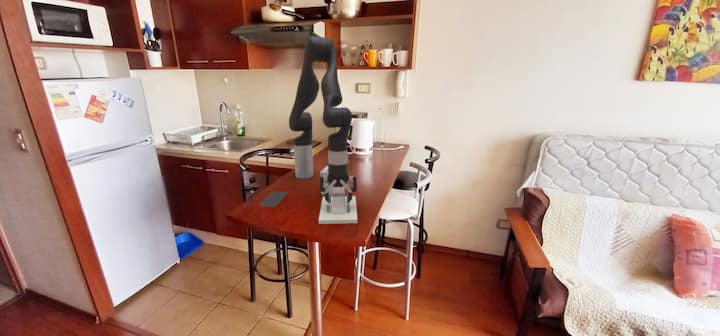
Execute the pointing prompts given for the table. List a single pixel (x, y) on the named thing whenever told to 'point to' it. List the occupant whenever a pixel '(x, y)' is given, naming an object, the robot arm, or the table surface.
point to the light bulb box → (325, 173)
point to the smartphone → (273, 199)
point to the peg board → (330, 218)
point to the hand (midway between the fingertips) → (338, 201)
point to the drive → (338, 200)
